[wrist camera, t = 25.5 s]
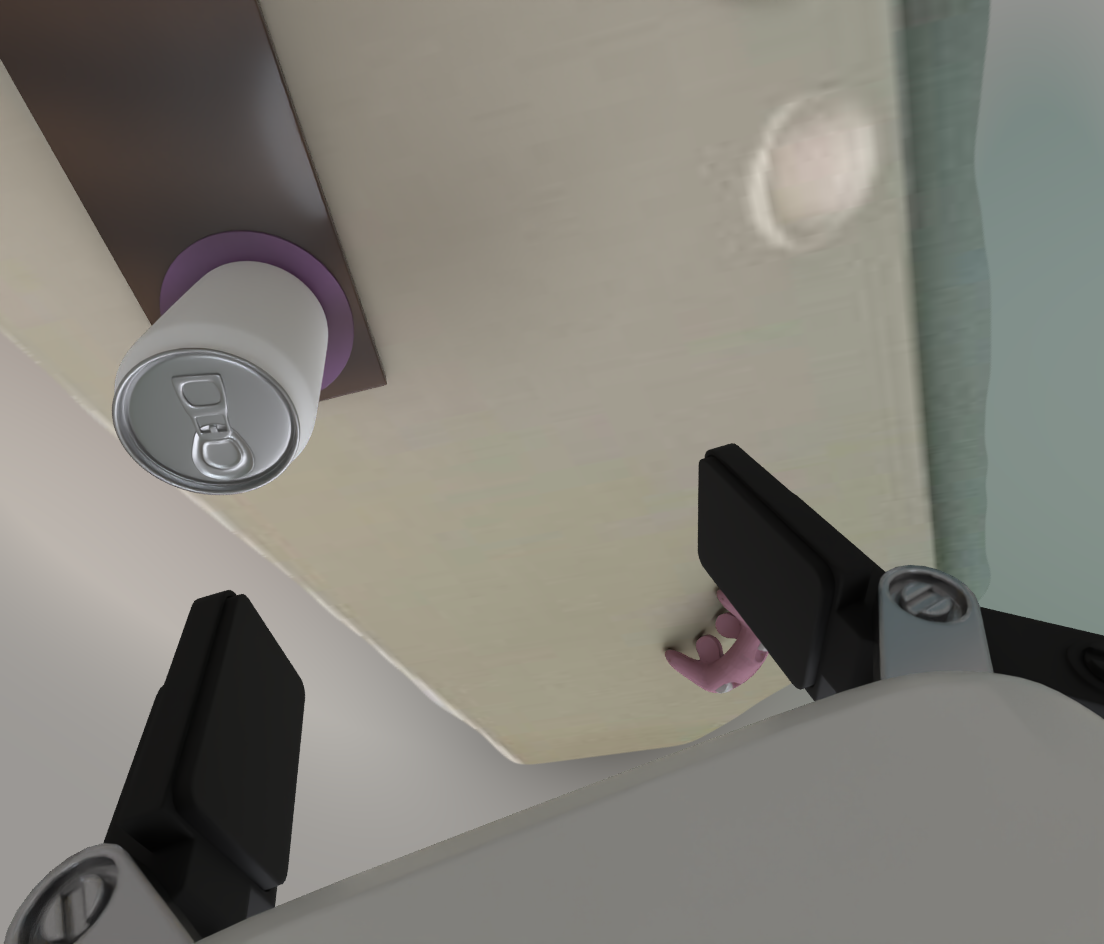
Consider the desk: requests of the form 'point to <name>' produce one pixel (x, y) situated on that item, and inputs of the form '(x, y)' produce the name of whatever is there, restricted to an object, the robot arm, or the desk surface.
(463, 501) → the desk surface
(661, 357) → the desk surface
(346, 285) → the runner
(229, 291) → the can
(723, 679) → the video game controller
